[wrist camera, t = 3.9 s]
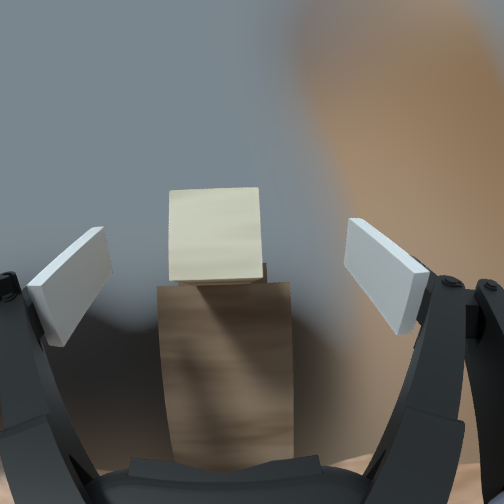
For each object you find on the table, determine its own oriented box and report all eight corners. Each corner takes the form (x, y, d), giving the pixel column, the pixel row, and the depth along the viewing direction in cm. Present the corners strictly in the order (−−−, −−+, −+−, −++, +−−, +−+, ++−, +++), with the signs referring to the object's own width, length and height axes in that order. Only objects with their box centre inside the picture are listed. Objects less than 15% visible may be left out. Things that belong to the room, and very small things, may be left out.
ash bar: (208, 288, 34) (207, 253, 35) (243, 286, 34) (241, 252, 35) (169, 280, 12) (169, 190, 13) (263, 277, 13) (258, 187, 13)
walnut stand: (196, 502, 29) (171, 275, 33) (284, 499, 29) (279, 271, 34) (187, 560, 17) (140, 265, 21) (301, 555, 18) (304, 259, 22)
